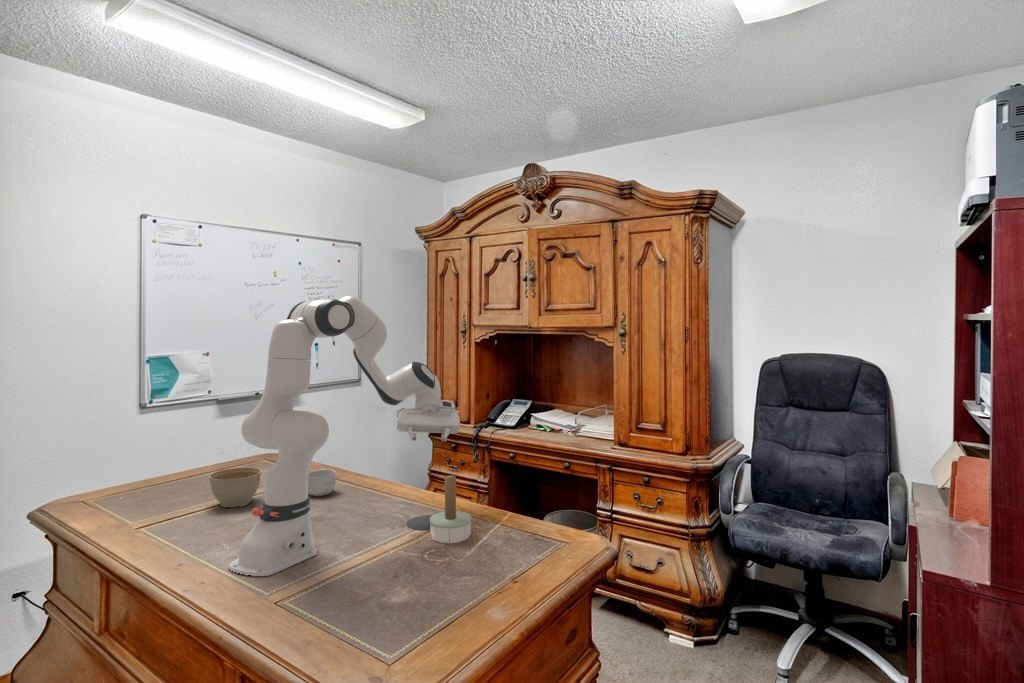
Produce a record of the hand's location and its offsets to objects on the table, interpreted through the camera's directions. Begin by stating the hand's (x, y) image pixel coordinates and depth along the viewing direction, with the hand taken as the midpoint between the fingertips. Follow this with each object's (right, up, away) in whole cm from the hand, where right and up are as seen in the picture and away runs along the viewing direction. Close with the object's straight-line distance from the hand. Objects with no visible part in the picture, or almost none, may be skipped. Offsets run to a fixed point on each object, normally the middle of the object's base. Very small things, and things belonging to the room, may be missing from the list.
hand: (428, 439), depth 170 cm
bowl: (+8, -26, -12) cm, 30 cm away
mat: (0, -26, -2) cm, 26 cm away
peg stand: (+8, -21, -12) cm, 26 cm away
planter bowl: (-70, -26, +19) cm, 77 cm away
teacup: (-45, -26, +31) cm, 60 cm away
